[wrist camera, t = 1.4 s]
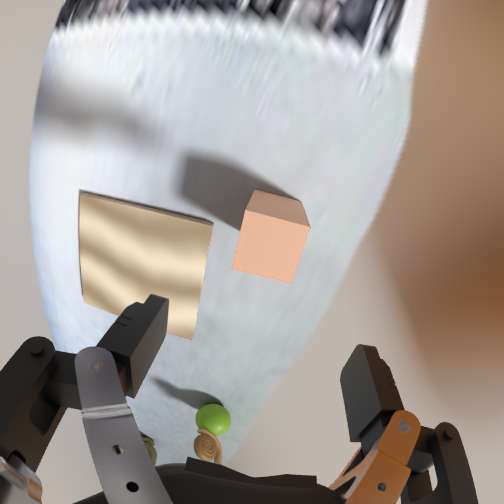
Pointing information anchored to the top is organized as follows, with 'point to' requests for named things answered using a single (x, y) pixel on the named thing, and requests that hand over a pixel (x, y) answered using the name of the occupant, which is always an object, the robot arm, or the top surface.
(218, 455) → the snail figurine
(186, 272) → the birch board
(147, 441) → the cup
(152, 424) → the top surface
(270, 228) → the terracotta block
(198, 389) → the top surface
